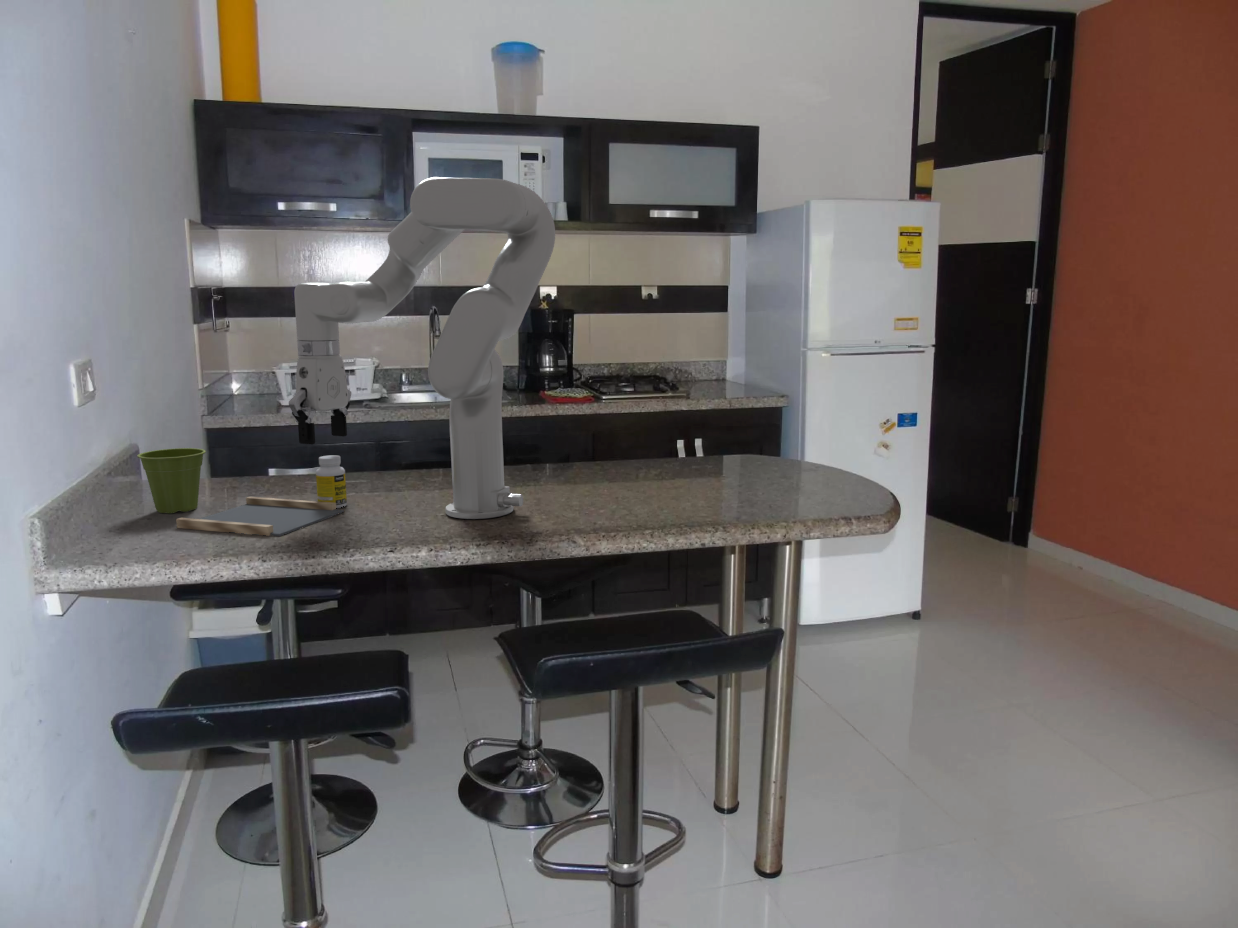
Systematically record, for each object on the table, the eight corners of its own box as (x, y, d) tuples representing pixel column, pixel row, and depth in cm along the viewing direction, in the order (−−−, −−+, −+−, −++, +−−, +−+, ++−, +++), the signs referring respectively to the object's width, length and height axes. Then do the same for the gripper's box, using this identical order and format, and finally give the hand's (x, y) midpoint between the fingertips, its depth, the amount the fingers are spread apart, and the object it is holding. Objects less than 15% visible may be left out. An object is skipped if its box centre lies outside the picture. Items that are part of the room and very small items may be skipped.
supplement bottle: (338, 510, 176) (334, 459, 174) (312, 509, 177) (308, 459, 175) (352, 503, 181) (348, 454, 179) (327, 503, 182) (323, 454, 180)
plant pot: (202, 515, 173) (195, 456, 171) (134, 518, 172) (127, 459, 169) (218, 501, 185) (212, 446, 183) (155, 504, 183) (149, 448, 181)
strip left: (273, 534, 159) (272, 525, 158) (268, 535, 158) (268, 526, 157) (182, 526, 165) (181, 517, 165) (177, 527, 164) (176, 519, 164)
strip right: (336, 510, 175) (335, 502, 175) (332, 512, 174) (331, 504, 174) (251, 504, 181) (250, 496, 181) (246, 505, 180) (246, 497, 180)
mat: (344, 512, 174) (343, 509, 174) (280, 536, 157) (279, 533, 157) (249, 504, 181) (249, 503, 181) (178, 527, 164) (178, 525, 164)
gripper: (305, 353, 163) (311, 448, 167) (363, 347, 180) (366, 434, 183) (271, 352, 166) (277, 445, 169) (330, 346, 182) (335, 432, 185)
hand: (323, 439), depth 176 cm, fingers open, 9 cm apart
